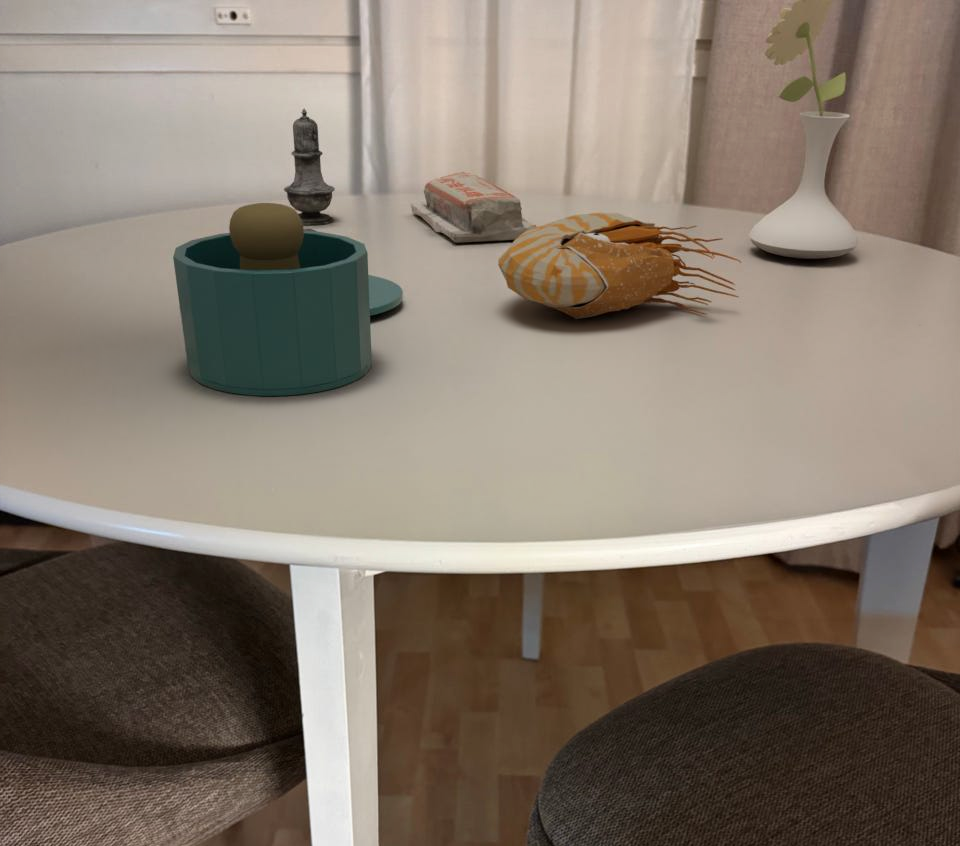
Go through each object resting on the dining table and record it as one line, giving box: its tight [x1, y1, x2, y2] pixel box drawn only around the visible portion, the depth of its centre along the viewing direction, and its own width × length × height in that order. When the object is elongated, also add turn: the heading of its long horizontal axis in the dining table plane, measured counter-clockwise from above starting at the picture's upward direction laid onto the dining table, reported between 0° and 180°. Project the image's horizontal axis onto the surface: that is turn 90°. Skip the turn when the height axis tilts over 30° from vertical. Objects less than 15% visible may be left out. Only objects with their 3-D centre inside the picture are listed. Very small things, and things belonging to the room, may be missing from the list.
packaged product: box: [410, 171, 537, 244], centre depth 124 cm, size 18×5×10 cm
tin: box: [172, 230, 373, 397], centre depth 79 cm, size 14×14×8 cm
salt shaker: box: [283, 108, 335, 226], centre depth 123 cm, size 6×6×12 cm
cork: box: [228, 202, 304, 271], centre depth 78 cm, size 6×6×11 cm
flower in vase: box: [748, 0, 859, 260], centre depth 108 cm, size 13×11×25 cm
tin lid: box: [303, 228, 404, 317], centre depth 94 cm, size 15×15×6 cm
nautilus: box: [497, 212, 743, 320], centre depth 93 cm, size 8×22×15 cm
